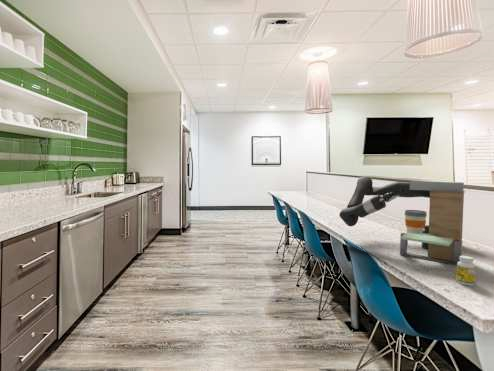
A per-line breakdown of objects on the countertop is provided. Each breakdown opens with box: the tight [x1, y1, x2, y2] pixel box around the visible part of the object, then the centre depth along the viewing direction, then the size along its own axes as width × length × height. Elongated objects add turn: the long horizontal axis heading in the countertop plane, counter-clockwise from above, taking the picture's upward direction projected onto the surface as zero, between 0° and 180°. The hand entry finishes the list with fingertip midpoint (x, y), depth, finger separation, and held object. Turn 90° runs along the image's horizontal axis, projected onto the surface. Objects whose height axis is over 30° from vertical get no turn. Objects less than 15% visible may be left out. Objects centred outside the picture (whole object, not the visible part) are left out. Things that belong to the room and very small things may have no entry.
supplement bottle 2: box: [456, 255, 476, 286], centre depth 104 cm, size 5×5×10 cm
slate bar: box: [409, 181, 465, 192], centre depth 135 cm, size 4×21×4 cm, turn 47°
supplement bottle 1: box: [421, 224, 429, 250], centre depth 151 cm, size 7×7×12 cm
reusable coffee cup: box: [404, 209, 428, 234], centre depth 186 cm, size 13×13×15 cm
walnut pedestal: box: [427, 190, 465, 261], centre depth 133 cm, size 8×12×32 cm
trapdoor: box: [400, 232, 453, 246], centre depth 127 cm, size 14×18×1 cm
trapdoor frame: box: [399, 232, 463, 266], centre depth 132 cm, size 3×24×10 cm, turn 47°
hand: (402, 190), depth 143 cm, fingers open, 8 cm apart
